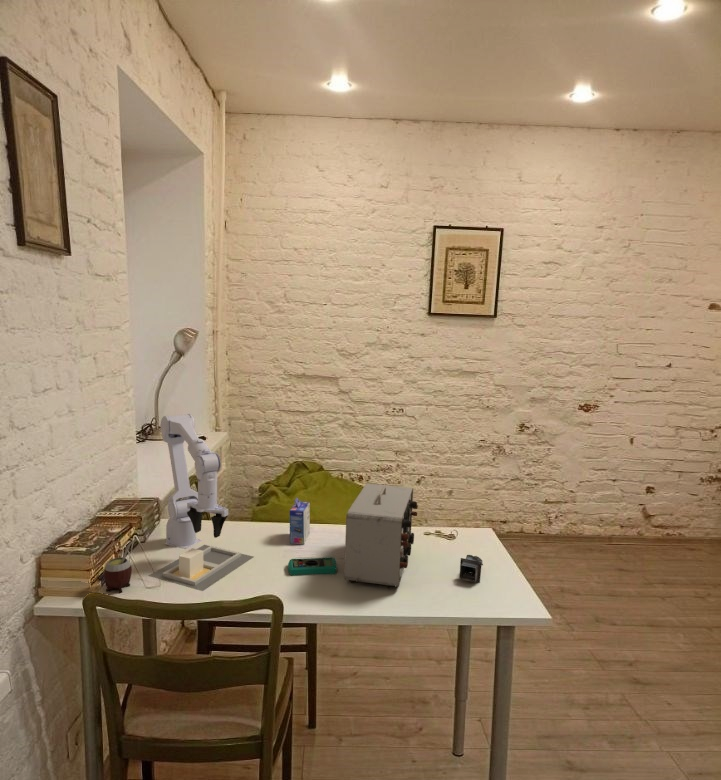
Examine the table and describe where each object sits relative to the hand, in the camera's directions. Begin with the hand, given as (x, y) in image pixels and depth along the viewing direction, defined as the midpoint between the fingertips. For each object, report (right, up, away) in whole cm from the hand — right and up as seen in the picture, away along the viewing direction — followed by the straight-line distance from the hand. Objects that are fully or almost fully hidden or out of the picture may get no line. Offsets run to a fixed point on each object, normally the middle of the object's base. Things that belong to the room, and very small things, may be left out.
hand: (207, 534), depth 167 cm
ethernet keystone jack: (+83, -13, -1) cm, 84 cm away
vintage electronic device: (+55, -11, +3) cm, 56 cm away
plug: (-3, -10, -7) cm, 12 cm away
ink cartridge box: (+26, -8, +22) cm, 35 cm away
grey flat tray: (-1, -10, -2) cm, 10 cm away
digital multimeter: (+33, -11, -1) cm, 35 cm away
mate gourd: (-20, -11, -17) cm, 28 cm away
